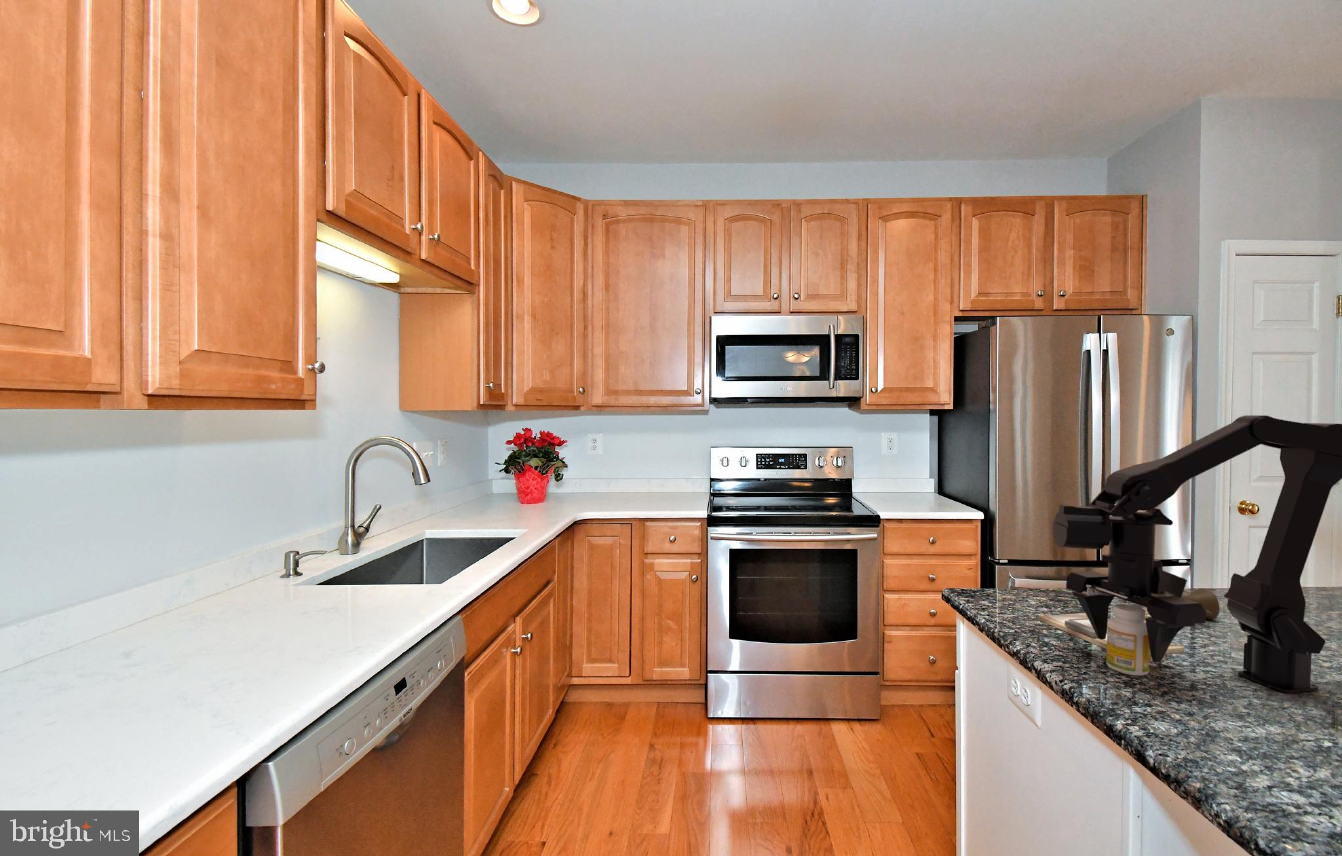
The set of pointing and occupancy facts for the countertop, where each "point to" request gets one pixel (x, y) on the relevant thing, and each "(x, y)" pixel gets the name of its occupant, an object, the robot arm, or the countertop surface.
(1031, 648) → the countertop surface
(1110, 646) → the supplement bottle
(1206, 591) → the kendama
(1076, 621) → the beige rectangular board
